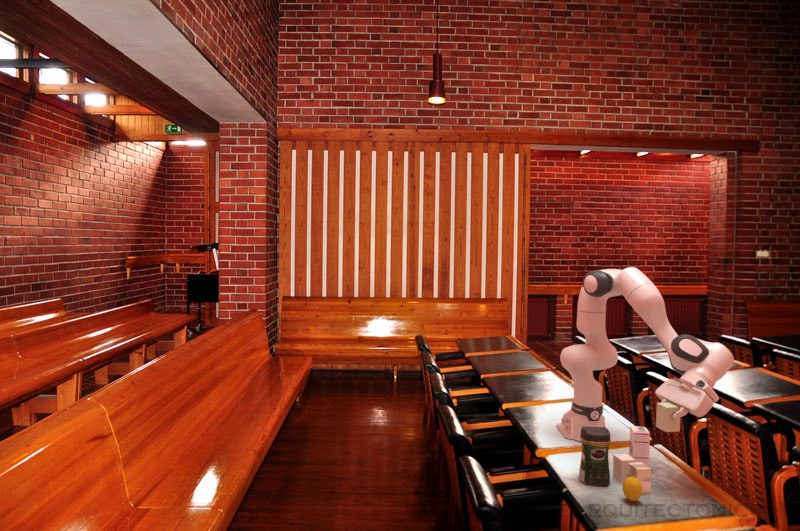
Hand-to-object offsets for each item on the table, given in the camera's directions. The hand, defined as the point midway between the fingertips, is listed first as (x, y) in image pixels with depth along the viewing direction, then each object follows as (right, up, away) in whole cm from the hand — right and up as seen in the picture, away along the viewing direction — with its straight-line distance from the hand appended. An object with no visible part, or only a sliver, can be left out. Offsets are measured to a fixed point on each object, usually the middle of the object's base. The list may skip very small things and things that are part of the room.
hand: (666, 415), depth 174 cm
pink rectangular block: (-11, -24, +7) cm, 28 cm away
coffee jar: (-21, -24, +6) cm, 33 cm away
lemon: (-15, -25, -7) cm, 30 cm away
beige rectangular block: (+1, -5, 0) cm, 5 cm away
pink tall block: (-9, -25, +1) cm, 26 cm away
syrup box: (-1, -24, +17) cm, 30 cm away
